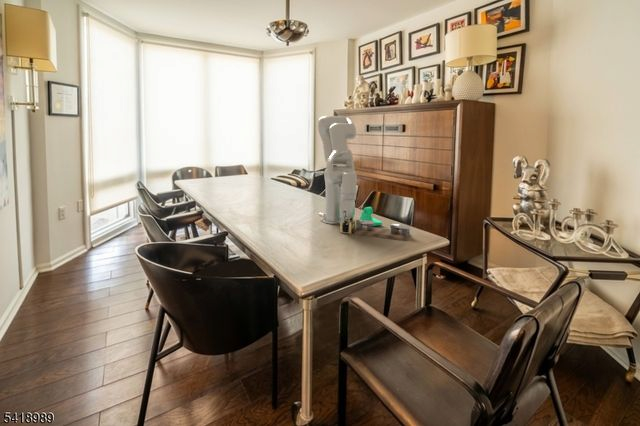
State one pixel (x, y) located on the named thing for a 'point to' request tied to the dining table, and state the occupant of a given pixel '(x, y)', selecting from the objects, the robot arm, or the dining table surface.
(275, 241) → the dining table surface
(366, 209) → the camera mount
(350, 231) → the gold square block
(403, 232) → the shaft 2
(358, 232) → the shaft bed
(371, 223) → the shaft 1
